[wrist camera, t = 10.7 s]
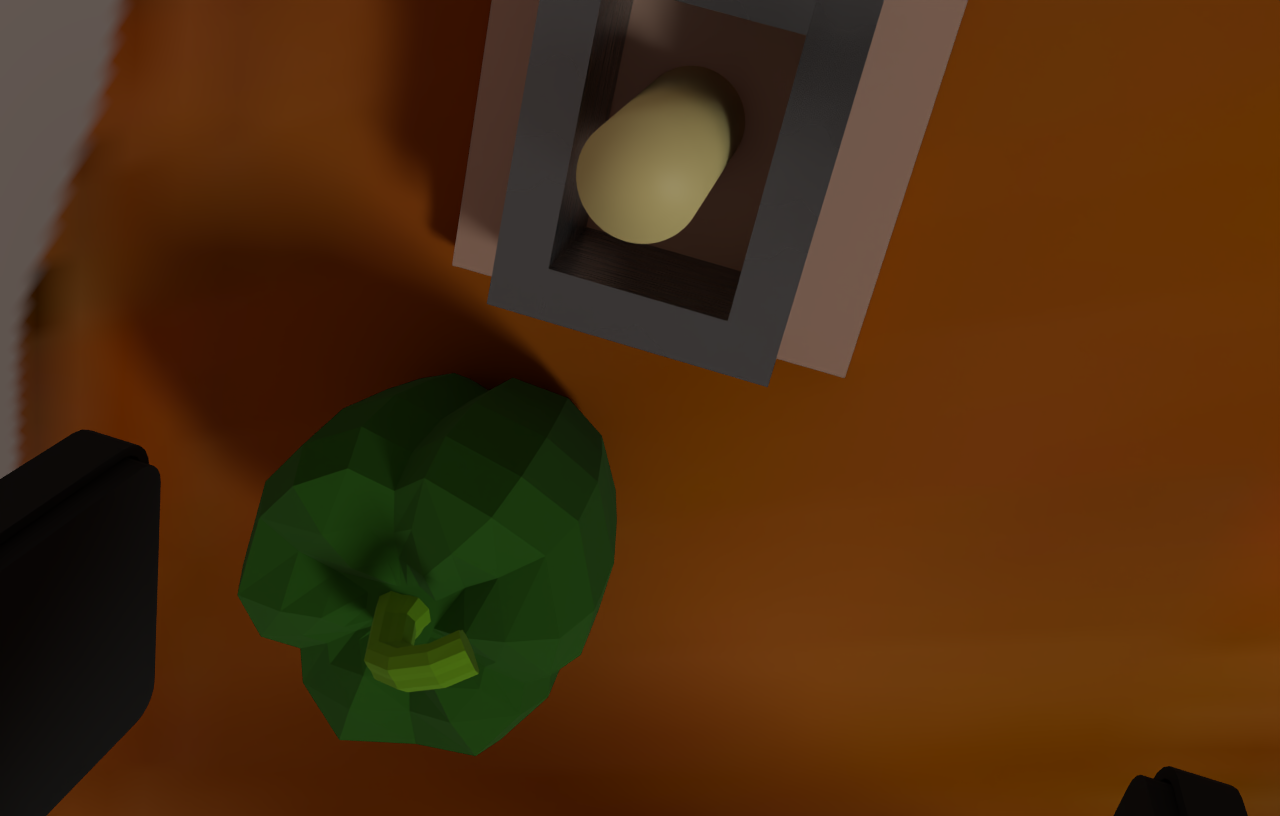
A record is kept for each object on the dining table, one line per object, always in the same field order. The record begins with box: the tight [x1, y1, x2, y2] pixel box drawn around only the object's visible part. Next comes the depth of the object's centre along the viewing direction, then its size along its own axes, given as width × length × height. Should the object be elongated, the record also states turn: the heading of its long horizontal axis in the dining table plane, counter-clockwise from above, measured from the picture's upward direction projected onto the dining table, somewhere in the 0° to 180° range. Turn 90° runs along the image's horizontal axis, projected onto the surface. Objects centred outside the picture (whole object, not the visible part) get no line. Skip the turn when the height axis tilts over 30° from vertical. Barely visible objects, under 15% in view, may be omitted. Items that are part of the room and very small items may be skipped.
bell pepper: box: [238, 373, 617, 756], centre depth 29 cm, size 8×8×10 cm
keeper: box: [452, 0, 968, 378], centre depth 25 cm, size 10×10×6 cm
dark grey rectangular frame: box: [487, 0, 884, 387], centre depth 26 cm, size 6×8×3 cm
